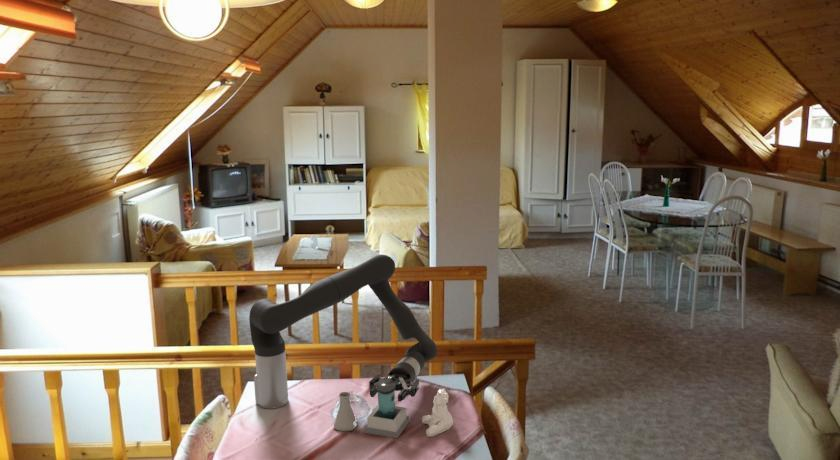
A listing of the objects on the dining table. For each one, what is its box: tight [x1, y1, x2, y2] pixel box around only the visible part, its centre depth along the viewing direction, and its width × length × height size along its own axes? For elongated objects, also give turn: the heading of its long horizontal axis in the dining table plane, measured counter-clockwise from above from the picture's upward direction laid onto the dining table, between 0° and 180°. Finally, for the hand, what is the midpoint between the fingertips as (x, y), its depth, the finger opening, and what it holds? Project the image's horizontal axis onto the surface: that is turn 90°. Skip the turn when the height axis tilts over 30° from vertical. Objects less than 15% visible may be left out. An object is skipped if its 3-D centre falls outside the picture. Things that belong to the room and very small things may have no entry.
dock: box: [364, 404, 410, 439], centre depth 183 cm, size 10×10×4 cm
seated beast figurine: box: [421, 387, 454, 438], centre depth 182 cm, size 10×9×12 cm
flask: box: [333, 391, 356, 432], centre depth 184 cm, size 7×7×10 cm
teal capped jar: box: [376, 380, 396, 420], centre depth 182 cm, size 6×6×12 cm
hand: (385, 396), depth 180 cm, fingers open, 8 cm apart
